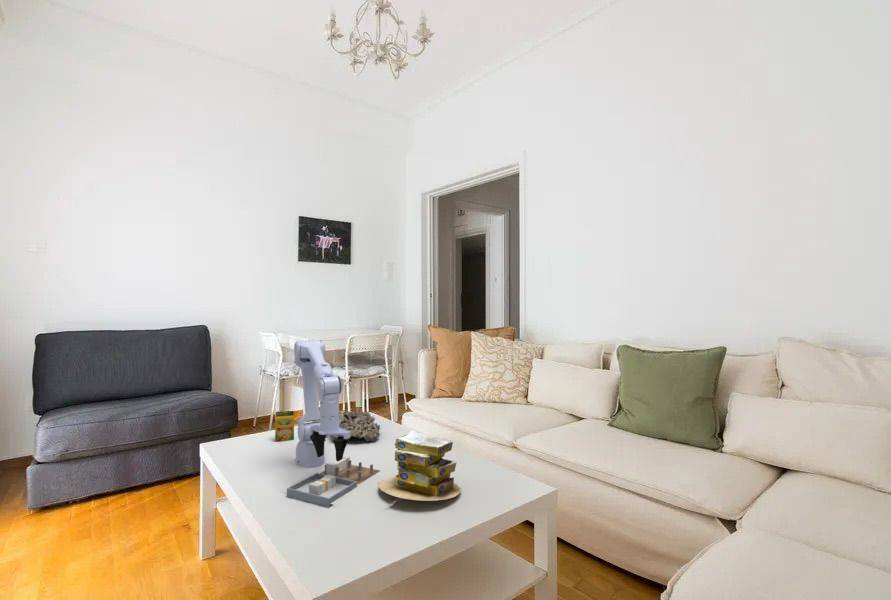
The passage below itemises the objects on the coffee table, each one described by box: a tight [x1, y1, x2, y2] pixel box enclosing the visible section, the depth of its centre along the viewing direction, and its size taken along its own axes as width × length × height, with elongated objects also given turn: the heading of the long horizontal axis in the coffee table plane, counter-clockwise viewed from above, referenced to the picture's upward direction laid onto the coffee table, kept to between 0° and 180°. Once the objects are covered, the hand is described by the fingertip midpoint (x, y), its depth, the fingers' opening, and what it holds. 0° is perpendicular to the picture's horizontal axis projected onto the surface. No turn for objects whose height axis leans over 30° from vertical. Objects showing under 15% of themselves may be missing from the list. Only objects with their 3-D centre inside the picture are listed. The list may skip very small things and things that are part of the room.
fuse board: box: [320, 459, 381, 485], centre depth 149 cm, size 17×12×4 cm
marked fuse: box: [308, 475, 337, 496], centre depth 136 cm, size 3×8×3 cm, turn 154°
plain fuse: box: [325, 455, 351, 475], centre depth 151 cm, size 3×8×3 cm, turn 154°
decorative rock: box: [332, 409, 381, 443], centre depth 192 cm, size 22×26×10 cm
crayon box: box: [274, 410, 295, 442], centre depth 186 cm, size 7×3×12 cm, turn 111°
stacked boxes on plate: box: [377, 429, 461, 502], centre depth 136 cm, size 25×25×17 cm
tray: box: [286, 472, 358, 509], centre depth 136 cm, size 16×13×2 cm
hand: (329, 458), depth 141 cm, fingers open, 7 cm apart
